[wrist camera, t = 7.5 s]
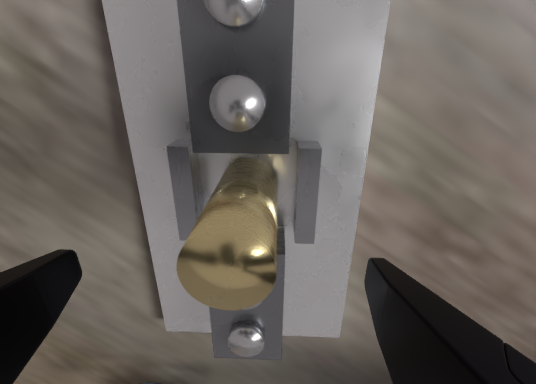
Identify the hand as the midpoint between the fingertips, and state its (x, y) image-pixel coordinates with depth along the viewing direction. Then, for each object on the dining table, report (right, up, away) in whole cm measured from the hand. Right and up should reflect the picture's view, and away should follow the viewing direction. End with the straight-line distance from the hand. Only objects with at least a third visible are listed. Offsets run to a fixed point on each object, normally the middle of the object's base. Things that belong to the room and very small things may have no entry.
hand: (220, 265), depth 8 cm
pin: (+1, +3, +6) cm, 7 cm away
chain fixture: (0, +3, +7) cm, 8 cm away
